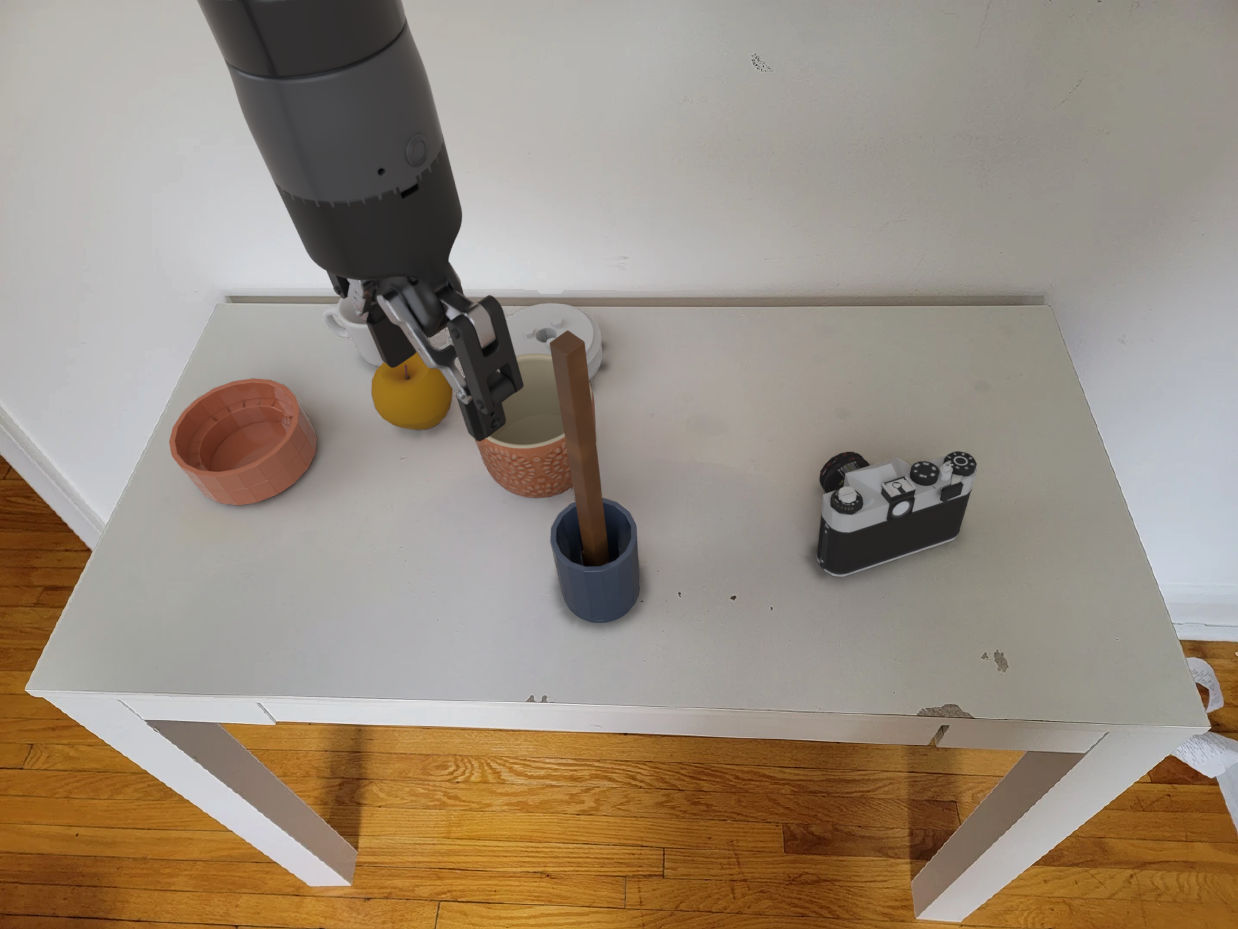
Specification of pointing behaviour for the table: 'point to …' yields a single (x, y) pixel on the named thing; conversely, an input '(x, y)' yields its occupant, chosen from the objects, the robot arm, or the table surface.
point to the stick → (581, 444)
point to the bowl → (244, 441)
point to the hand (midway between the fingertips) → (443, 392)
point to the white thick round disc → (554, 330)
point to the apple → (411, 394)
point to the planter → (531, 435)
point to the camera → (889, 508)
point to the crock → (597, 587)
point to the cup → (352, 329)
